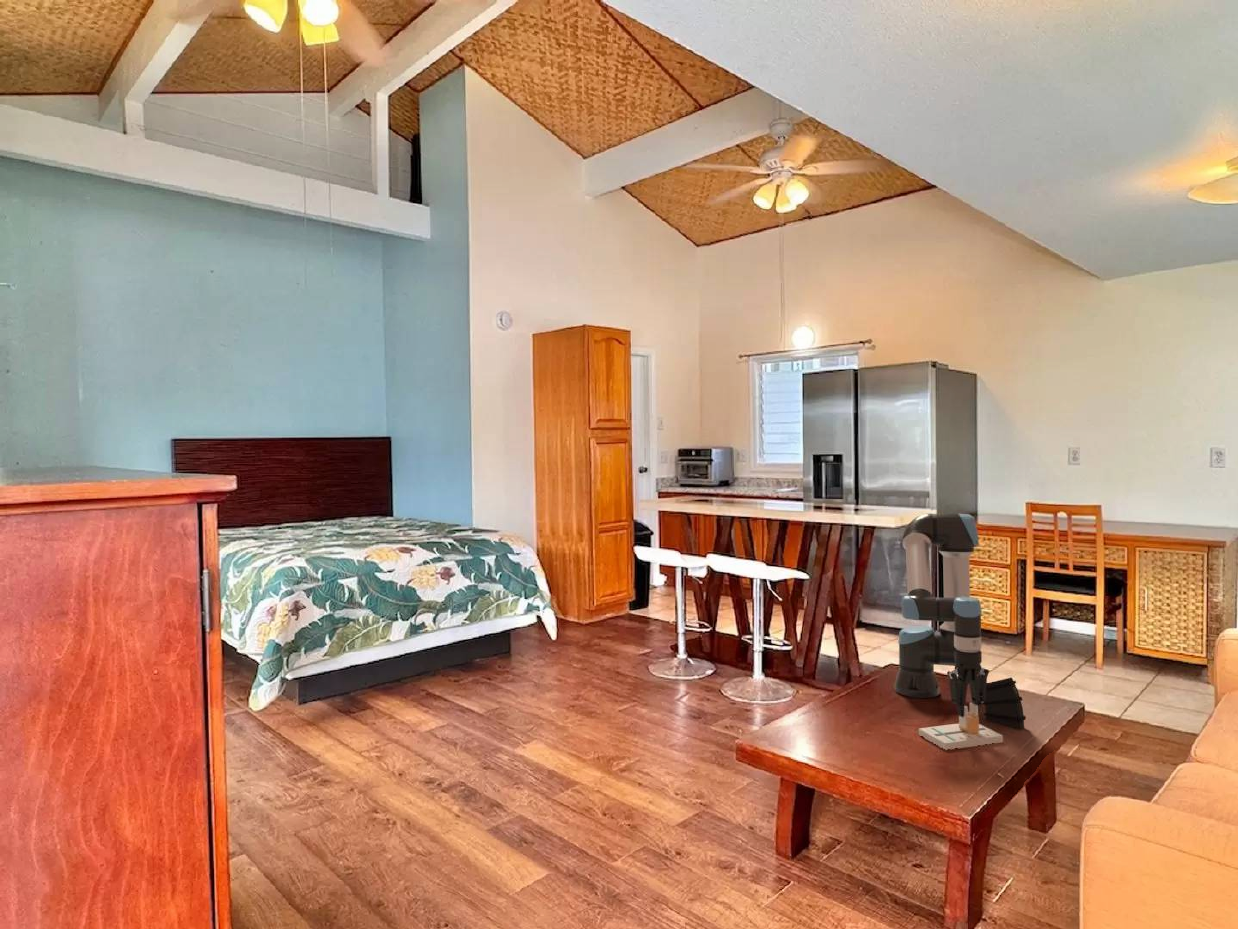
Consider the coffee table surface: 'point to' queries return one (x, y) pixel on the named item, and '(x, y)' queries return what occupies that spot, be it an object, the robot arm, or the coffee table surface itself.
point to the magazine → (1004, 704)
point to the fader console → (959, 736)
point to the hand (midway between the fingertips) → (968, 725)
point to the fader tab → (972, 724)
